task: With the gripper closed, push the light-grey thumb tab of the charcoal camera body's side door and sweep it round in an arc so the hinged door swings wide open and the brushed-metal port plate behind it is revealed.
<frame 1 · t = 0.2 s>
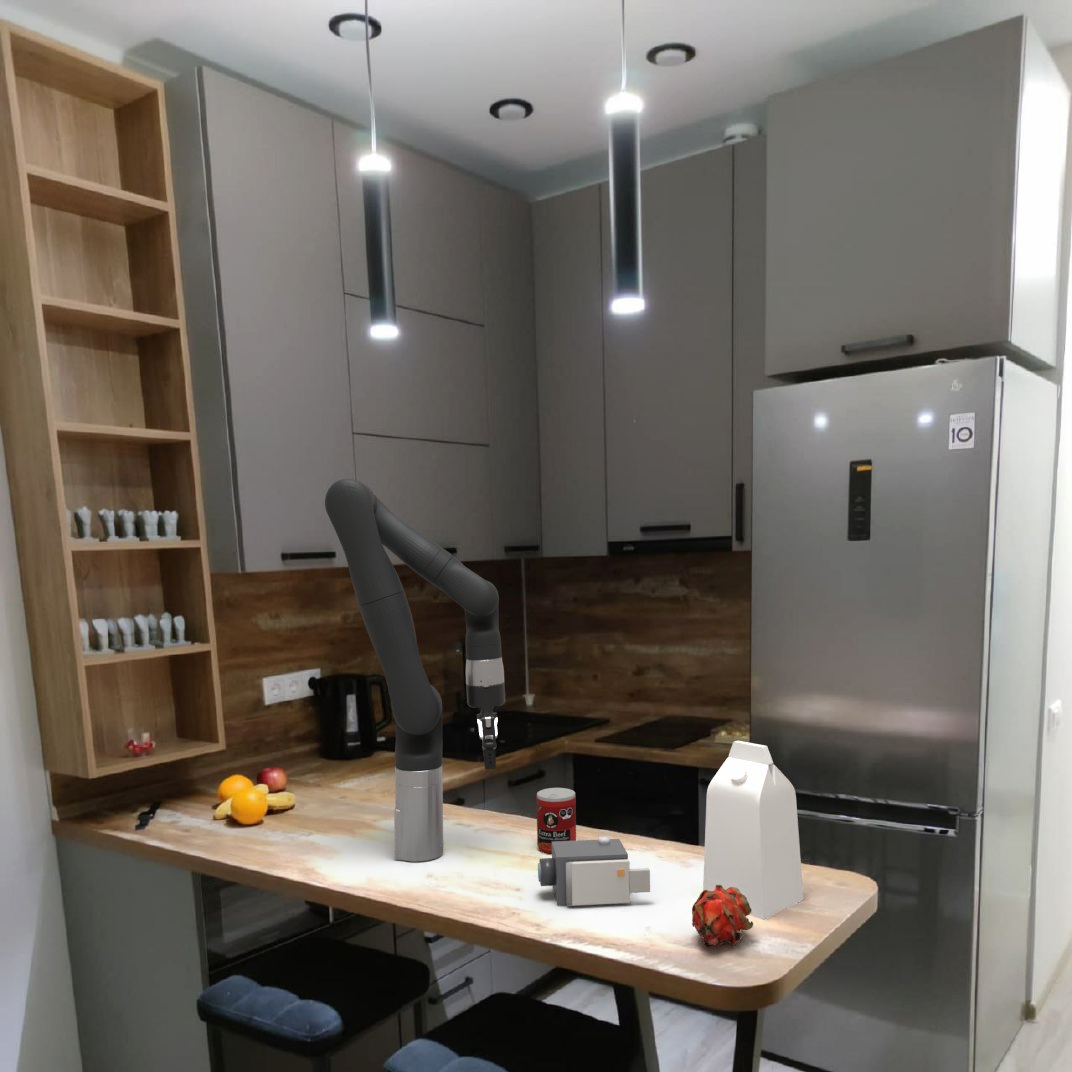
hand: (489, 763, 172), 17 cm above the countertop, tool pointing down, fingers open, 8 cm apart
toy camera: (740, 854, 169), on the countertop
milk: (752, 900, 147), on the countertop
canned food: (556, 849, 173), on the countertop
side door: (607, 882, 145), point 4 cm above the countertop, hinge at 0.0°
dragon fruit: (721, 943, 131), on the countertop
camera body: (589, 894, 150), on the countertop
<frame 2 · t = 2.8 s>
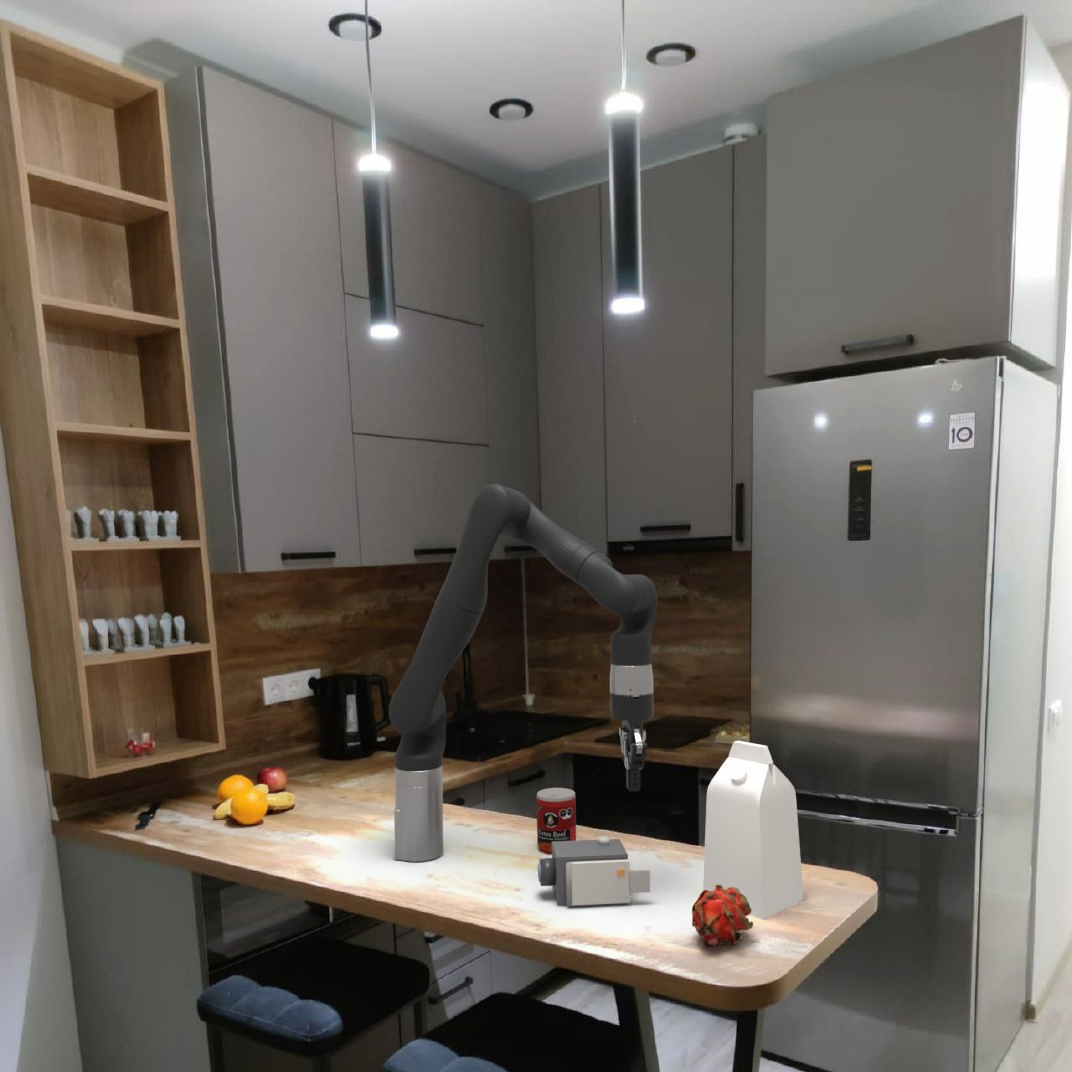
hand: (633, 790, 151), 17 cm above the countertop, tool pointing down, fingers closed
nothing on the countertop moved.
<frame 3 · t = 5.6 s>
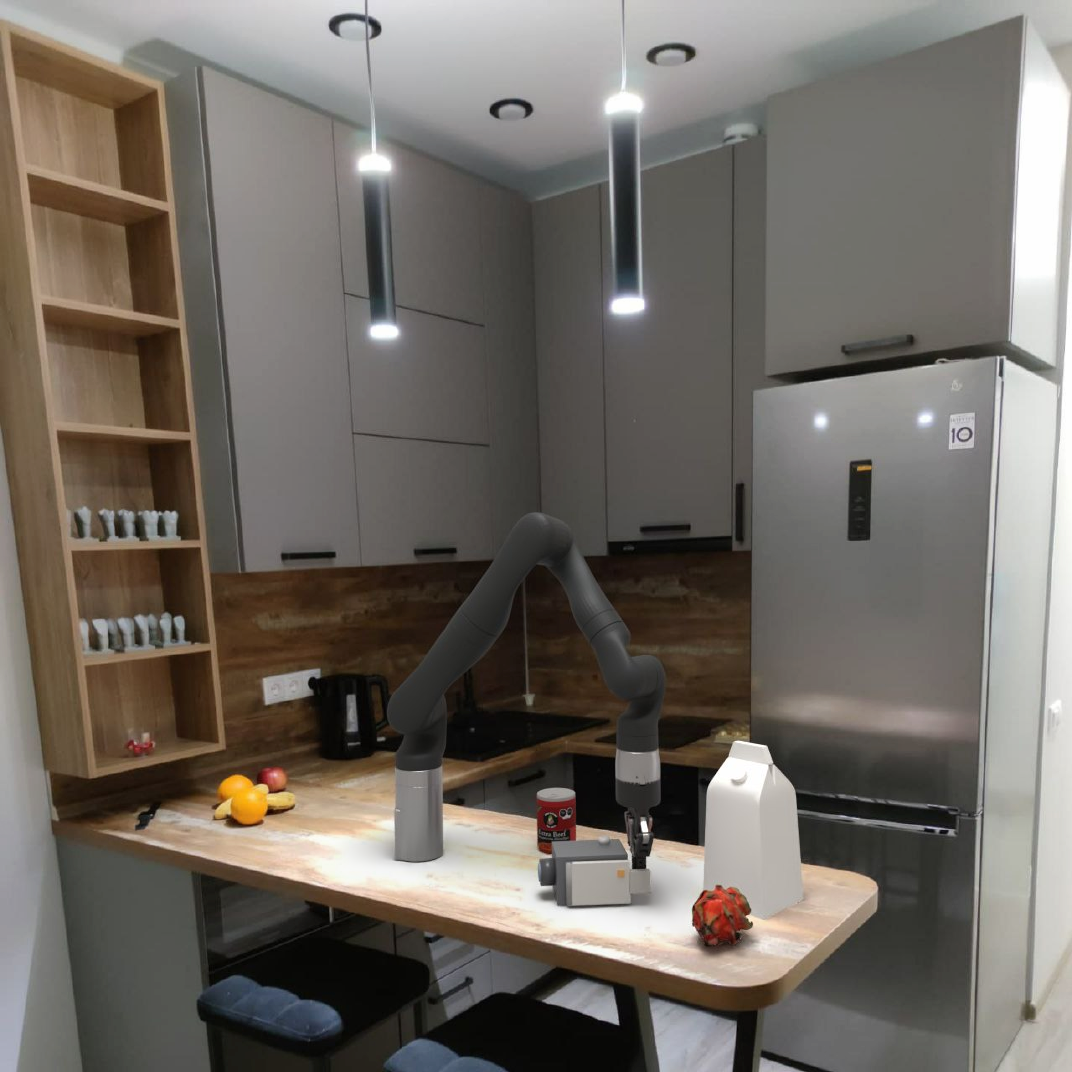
hand: (639, 877, 148), 4 cm above the countertop, tool pointing down, fingers closed
side door: (608, 882, 145), point 4 cm above the countertop, hinge at 1.4°, touching gripper
everything else where it was.
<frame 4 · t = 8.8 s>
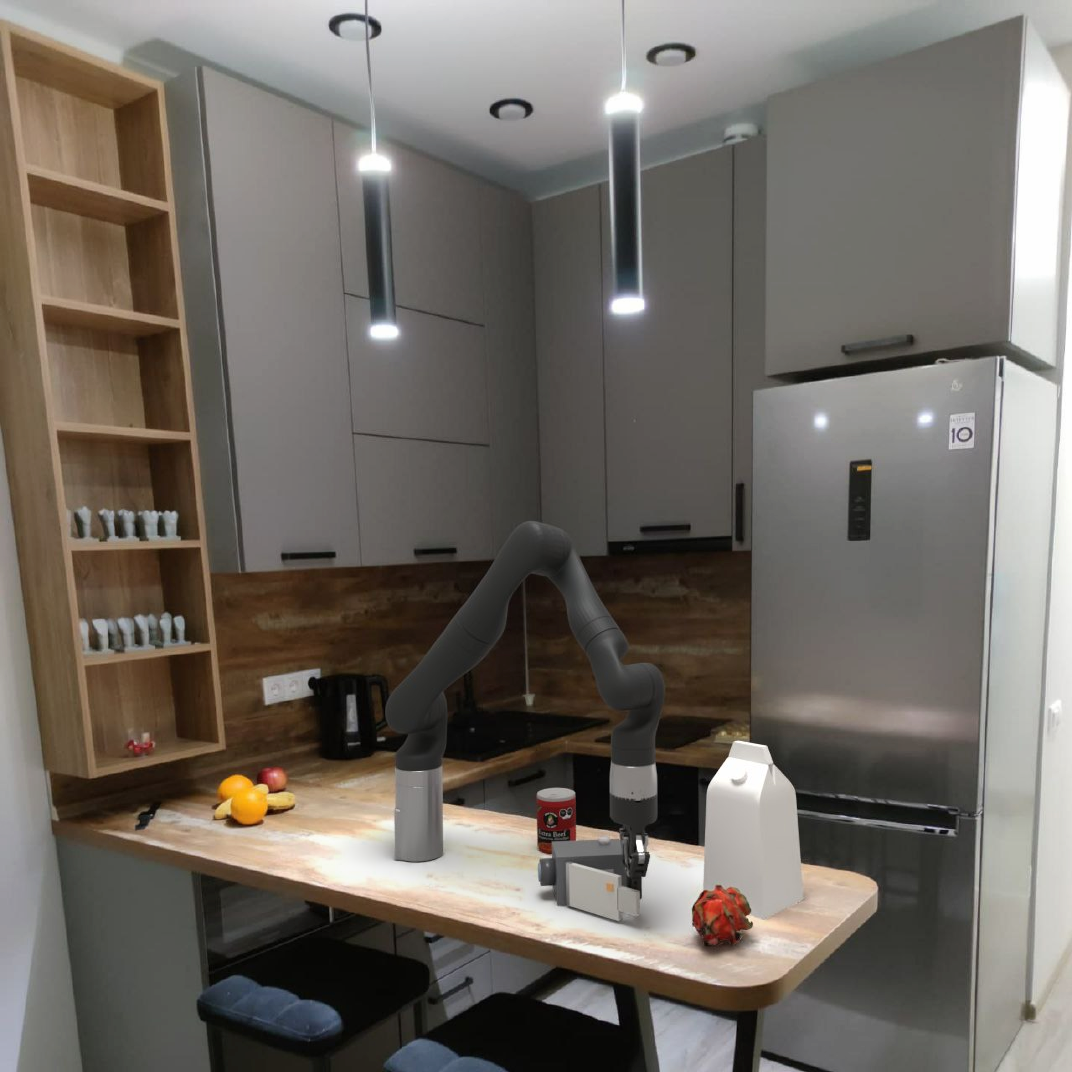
hand: (634, 898, 139), 3 cm above the countertop, tool pointing down, fingers closed
side door: (601, 893, 140), point 4 cm above the countertop, hinge at 44.5°, touching gripper
everything else where it was.
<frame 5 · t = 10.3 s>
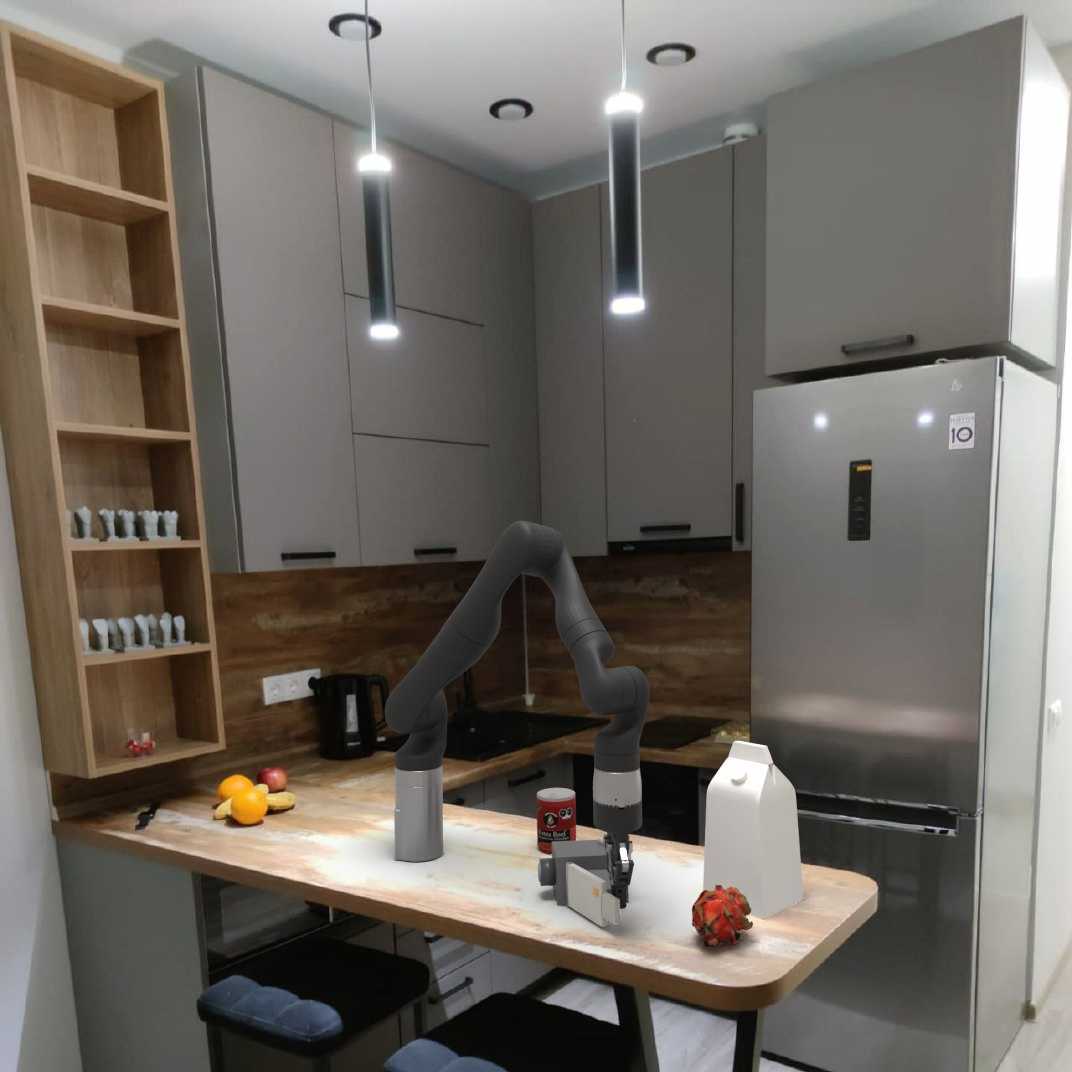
hand: (618, 907, 136), 3 cm above the countertop, tool pointing down, fingers closed
side door: (591, 896, 139), point 4 cm above the countertop, hinge at 64.4°, touching gripper
everything else where it was.
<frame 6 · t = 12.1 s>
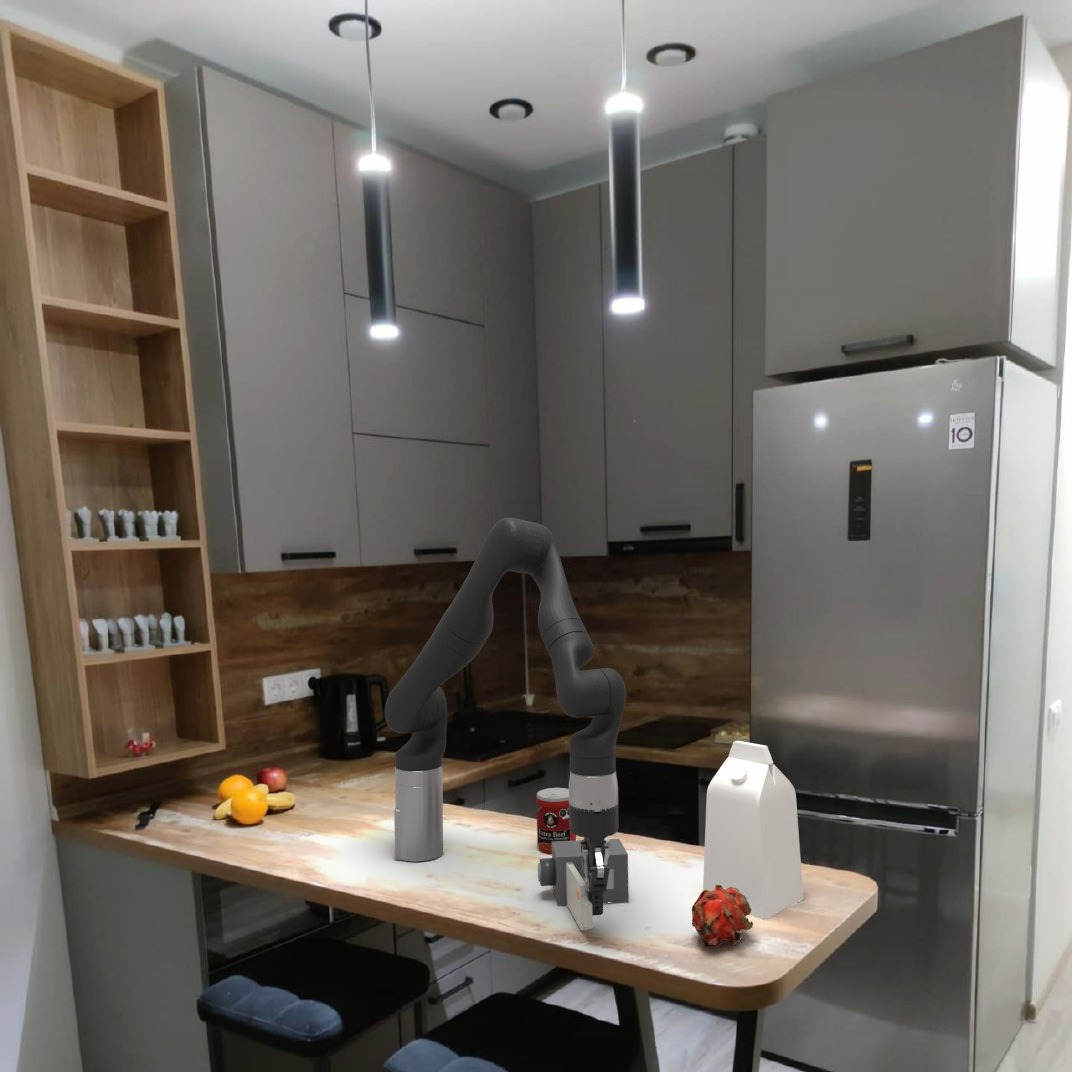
hand: (595, 913, 134), 3 cm above the countertop, tool pointing down, fingers closed
side door: (578, 898, 138), point 4 cm above the countertop, hinge at 84.5°, touching gripper
everything else where it was.
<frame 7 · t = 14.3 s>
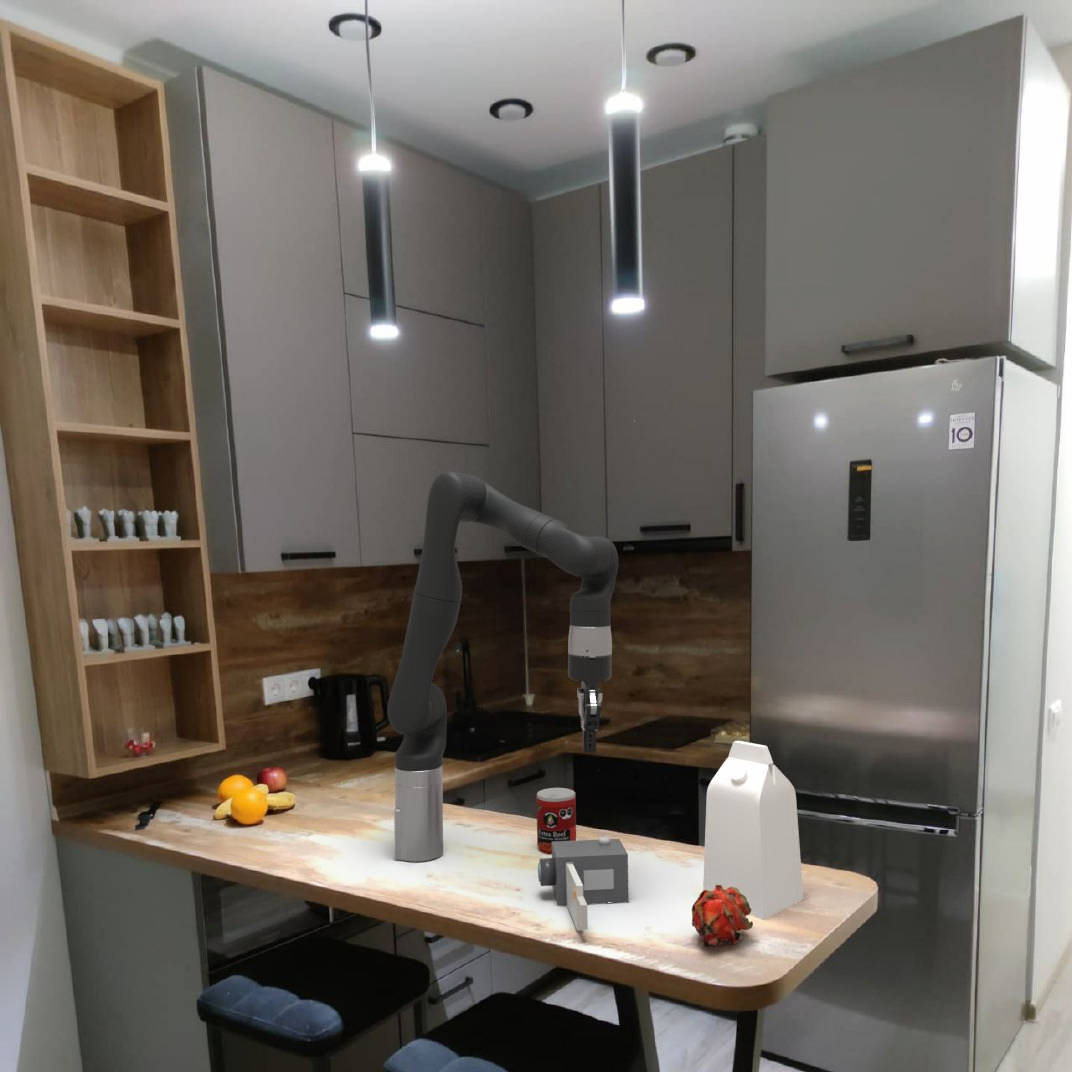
hand: (589, 751, 151), 24 cm above the countertop, tool pointing down, fingers closed
side door: (575, 898, 138), point 4 cm above the countertop, hinge at 87.7°
everything else where it was.
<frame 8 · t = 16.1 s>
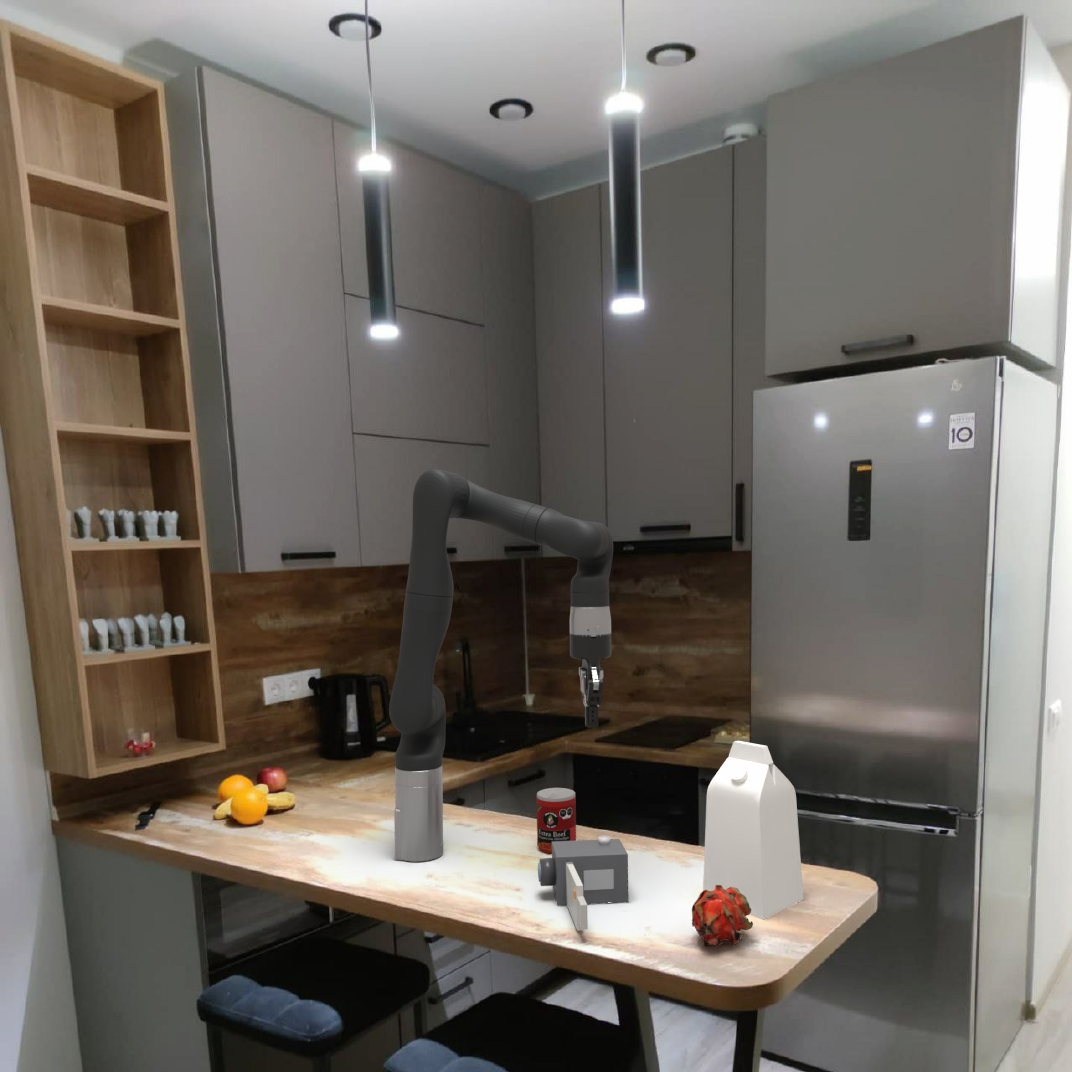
hand: (591, 726, 158), 27 cm above the countertop, tool pointing down, fingers closed
nothing on the countertop moved.
at the end: side door at +88° (first picture: +0°); side door touching nothing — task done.
